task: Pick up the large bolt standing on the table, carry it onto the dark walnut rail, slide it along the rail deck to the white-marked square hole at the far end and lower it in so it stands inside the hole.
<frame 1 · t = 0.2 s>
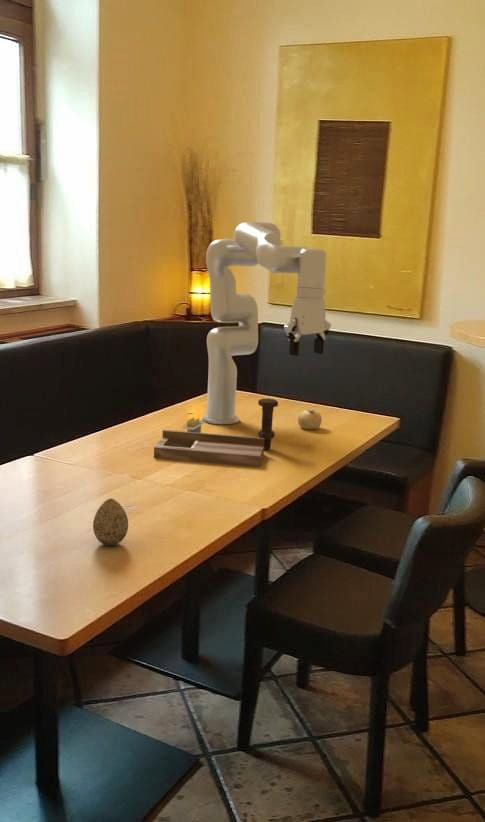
hand: (306, 354, 231), 30 cm above the table, tool pointing down, fingers open, 9 cm apart
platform: (192, 440, 250), on the table
onion: (309, 429, 270), on the table
bolt: (265, 449, 243), on the table
decorative egg: (110, 545, 168), on the table
rail: (209, 456, 233), on the table
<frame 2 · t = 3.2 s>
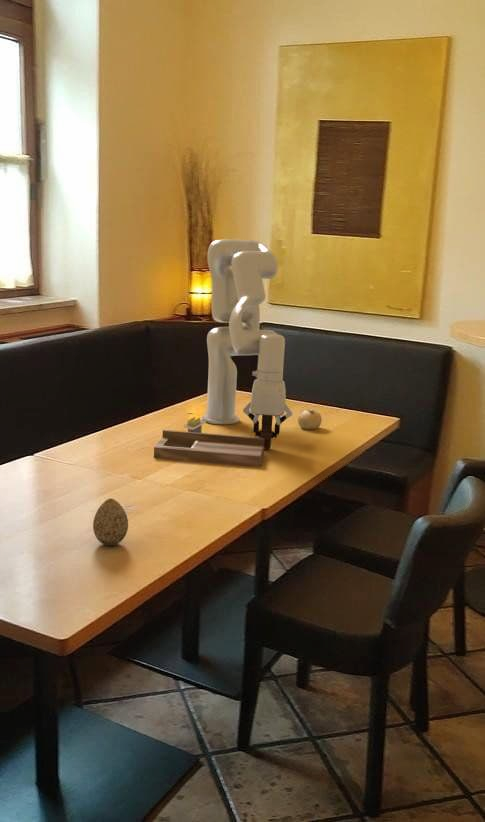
hand: (266, 435, 242), 4 cm above the table, tool pointing down, fingers closed on bolt, 5 cm apart
bolt: (265, 449, 243), on the table, touching gripper
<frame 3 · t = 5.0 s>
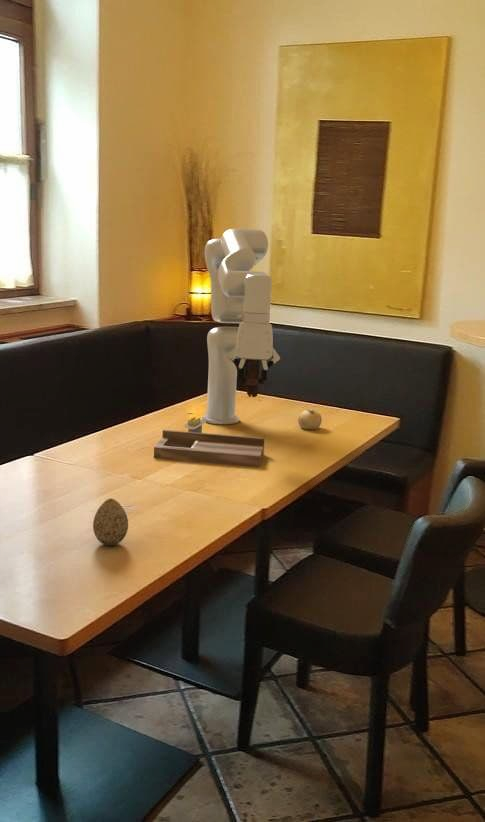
hand: (252, 381, 231), 22 cm above the table, tool pointing down, fingers closed on bolt, 5 cm apart
bolt: (251, 396, 232), point 17 cm above the table, touching gripper
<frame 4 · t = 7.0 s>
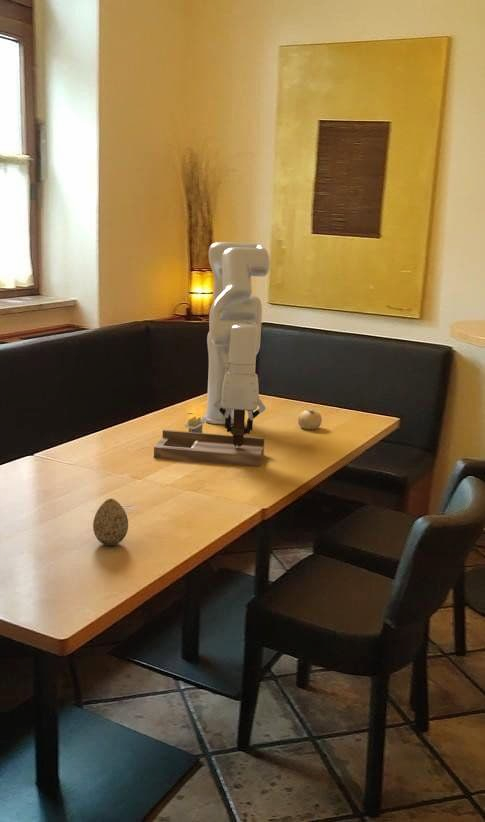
hand: (238, 431, 230), 8 cm above the table, tool pointing down, fingers closed on bolt, 5 cm apart
bolt: (237, 446, 231), point 4 cm above the table, touching gripper
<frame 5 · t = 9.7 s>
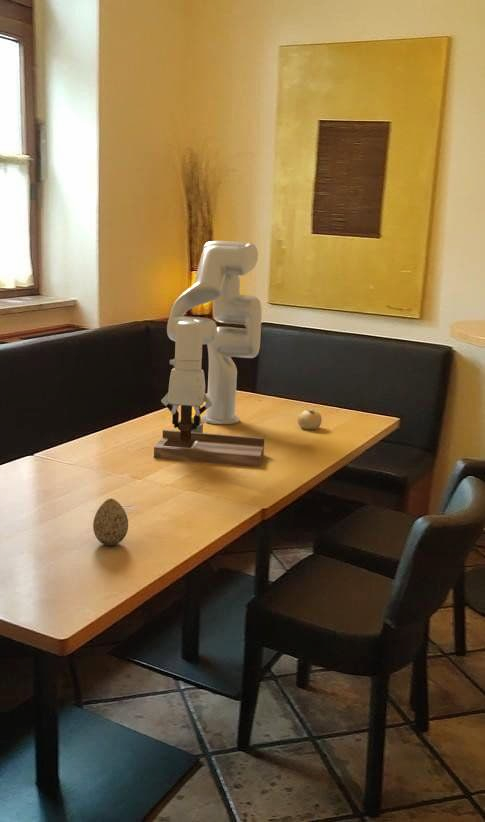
hand: (185, 426, 232), 8 cm above the table, tool pointing down, fingers closed on bolt, 5 cm apart
bolt: (185, 441, 233), point 4 cm above the table, touching gripper
when the fingers open (6 cm above the table, at t = 11.2 s): bolt drops 1 cm, resting in rail.
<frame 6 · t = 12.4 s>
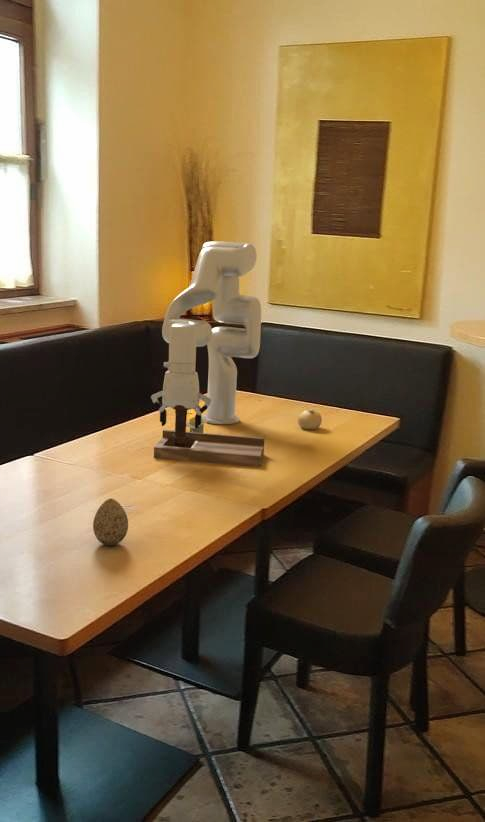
hand: (180, 426, 232), 8 cm above the table, tool pointing down, fingers open, 9 cm apart
bolt: (179, 453, 234), resting in rail
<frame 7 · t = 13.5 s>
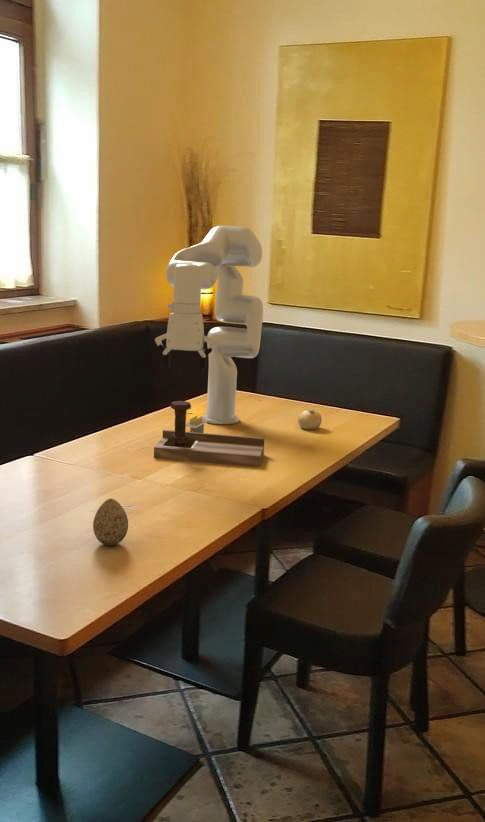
hand: (184, 369, 229), 24 cm above the table, tool pointing down, fingers open, 9 cm apart
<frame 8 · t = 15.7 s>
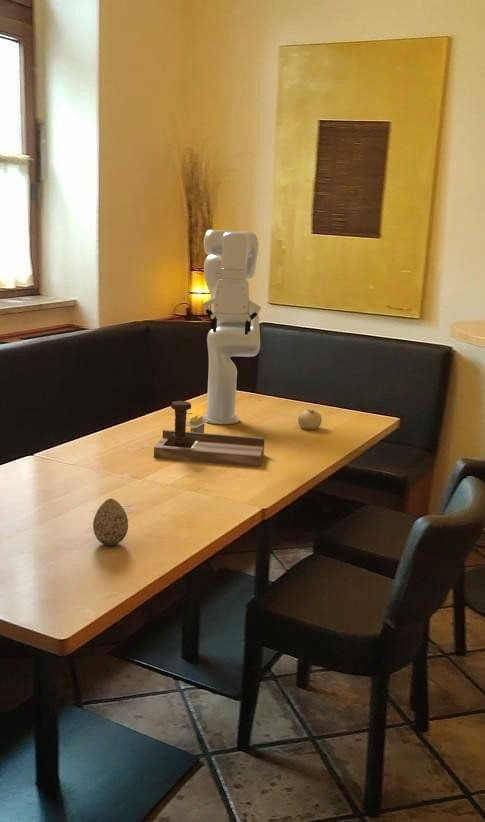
hand: (230, 333, 242), 33 cm above the table, tool pointing down, fingers open, 9 cm apart
at the end: bolt inside the target area on the rail (0.1 cm from its centre), point 0.0 cm above the rail's base; the gripper is holding nothing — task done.
